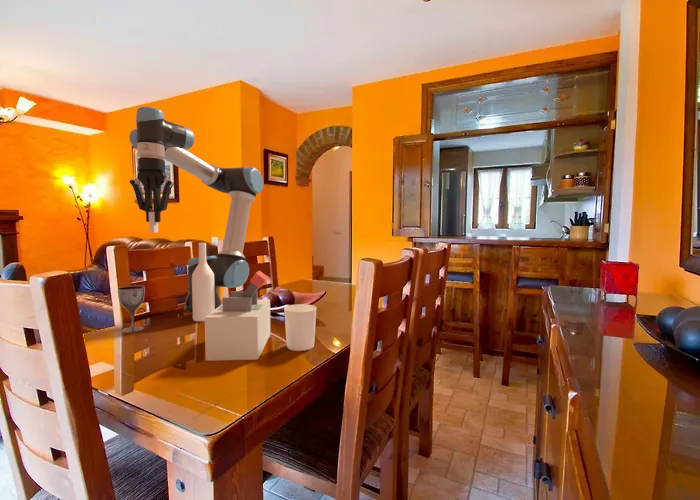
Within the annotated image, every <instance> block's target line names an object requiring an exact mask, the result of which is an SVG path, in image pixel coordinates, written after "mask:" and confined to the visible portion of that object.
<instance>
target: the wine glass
mask: <svg viewBox="0 0 700 500" xmlns="http://www.w3.org/2000/svg"><path fill="white" fill-rule="evenodd" d="M145 291H146V290H145V285H140V284H139V285H137V284H136V285H135V284H134V285H126V286H120V287H117V298H118V302H119V304H120V305H121V307H122V308H124V309H125V310H126V311H127V312H128V313H129V317H130V322H131V324H130V326H128V327H125V328H123V329H121V330H120V332H121V333H123V334H124V333H136V332H139V331H140V332H141V331H143V330H144V329H145V326H140V325H139V326H138V325H137V326H136V325H135V321H134V320H135V313H136V311H137V310H138V308H140V307H141V306H142V304H143V303H144V299H145V295H146V294H145V293H146V292H145Z"/></svg>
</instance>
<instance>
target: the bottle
mask: <svg viewBox="0 0 700 500" xmlns="http://www.w3.org/2000/svg"><path fill="white" fill-rule="evenodd" d="M198 257H199V264H198V266H197V267H196V269H195V270H194V272H193V274H192V306H193V312H192V320H193V321H194V322H205V317H206V316H207V315H209V314H210V313H211V312H212V311H214V310H215V291H214V273H213V271H212V270H211V269H210V267H209V266H208V264H207V260H206V257H207V243H206V242H198Z"/></svg>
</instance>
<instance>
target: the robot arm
mask: <svg viewBox="0 0 700 500" xmlns="http://www.w3.org/2000/svg"><path fill="white" fill-rule="evenodd" d="M135 116H136V117H135V118H136V119H135V123H136V126H135V127H136V128H134V129H132V130H131V131H130V133H129V141H130V144H131V146H132V147H133V148H134V149H136V150H137V156H138V158H137V169H138V173H137V177H136V178H134V179H130V180H129V183H130V184H131V186H132V188H133V192H134V195H135V197H136V202H137V205H138V209H139V210H140V211H144V212H145V220H146V222H147V223H148V227H149V228H148V229H149V233H150V234H151V233H155V234H156V233H159V223H160V222H161V221H162V220H161V218H162V217H161V213H162V212H164V211H167V209H168V205H169V202H170V201H169V199H170V195H171V191H172V188H173V187H174V185H175V182H174V181H173V180H170V179H169V178H167V177H168V176H167V175H166V161H167V162H169V163H171V164H172V165H174V166H176V167H178V168H180V170H183V171H185V172H186V173H188V174H191V176H194V177H196V178H198V179H199V180H200V181H201V183H202V184H203V185H205V186H207V187H209V188H211V189H213V190H215V191H218V192H220V193H224V194H227V195H229V197H230V204H229V210H228V215H227V221H226V227H225V230H224V231H225V233H224V237H223V242H222V243H223V244H222V248H221V250H220V251H219V252H218V253H217V255H210V256H209V255H208V256H207V255H206V260H207V264H208V266H209V267H210V269H211V270H212V271H213V273H214V291H215V309H216V308H218V307H219V306H220V305H222V304H223V302H222V299H221V297H220V294H219V292H218V287H220V288H221V287H222V288H228V289H231V288H240V287H242V286H243V285H244V284H245V283H246V282H247V280H248V277H249V275H250V267H249V263H248V262H247V261H246V257H245V255H244V253H243V252H244V249H245V248H244V247H245V242H246V237H247V235H246V234H247V231H248V223H249V217H250V214H251V213H250V212H251V207H252V202H254V201H255V200H256V198H257V195H258V194H260V193H261V192H262V191H263V189H264V180H263V179H264V178H263V176H262V174H261V172H260V171H259V170H258V169H257V167H253V166H244V167H227V168H226V167H220V166H217V165H215V164H212V163H211V164H209V163H207V162H206V161H205V160H203V159H202V158H200V157H198V156H196V154H193V153H192V152H190V151H189V150H190V149H191V148H192V147H193V145H194V144H195V134H194V132H193V131H192V129H189V128H188V127H185V126H184V125H180V124H176V123H174V122H171V121H168V120H167V119H165V115H164V112H163V111H162V110H161V109H158V108H157V107H152V106H141V107H138V108H137V109H136V115H135ZM163 184H164V186H163ZM141 185H143V190H144V193H143V190H142V186H141ZM162 186H163V189H162ZM161 191H162V195H161ZM198 264H199V256H197V257H191V258H190V259H189V260H188V261H187V285H188V287H187V288H188V293H187V296H186V299H185V302H184V311H185V312H187V313H193V306H192V274H193V272H194V270H195V269H196V267H197V266H198Z"/></svg>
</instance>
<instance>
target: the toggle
mask: <svg viewBox="0 0 700 500" xmlns="http://www.w3.org/2000/svg"><path fill="white" fill-rule="evenodd" d="M269 277H270V276H268V275H266V274H265V273H264V272H262V271H261V270H258V271H257V272H255V273H254V274H253V276H252V277H251V279H250V280H249V285H248V286H247V287H246V288H245V290H244V293H243V294H242V295H241V297H251V298H252V296H253V295H254V294H255V292H256V291H257V292H258V289H261V288H262V287H263V286H264V284H266V282H267V280H268V279H269Z"/></svg>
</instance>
